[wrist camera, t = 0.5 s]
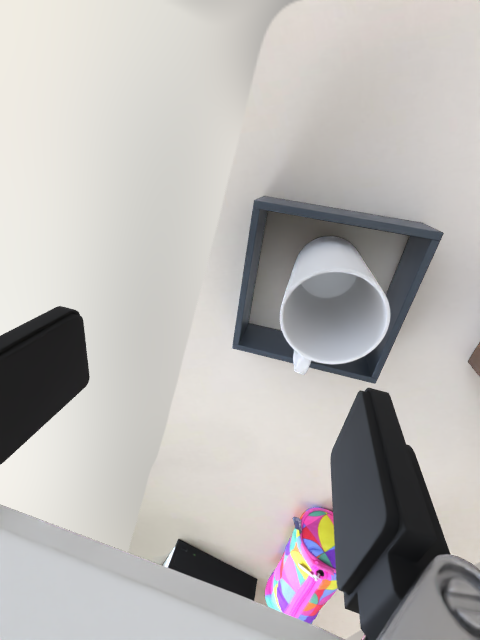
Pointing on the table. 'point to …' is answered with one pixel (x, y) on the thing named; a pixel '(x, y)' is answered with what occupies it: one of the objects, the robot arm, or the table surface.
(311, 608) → the pencil case
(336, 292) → the mug
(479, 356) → the riser
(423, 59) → the table surface
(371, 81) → the table surface
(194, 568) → the disc drive
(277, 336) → the dark gray square frame
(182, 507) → the table surface
